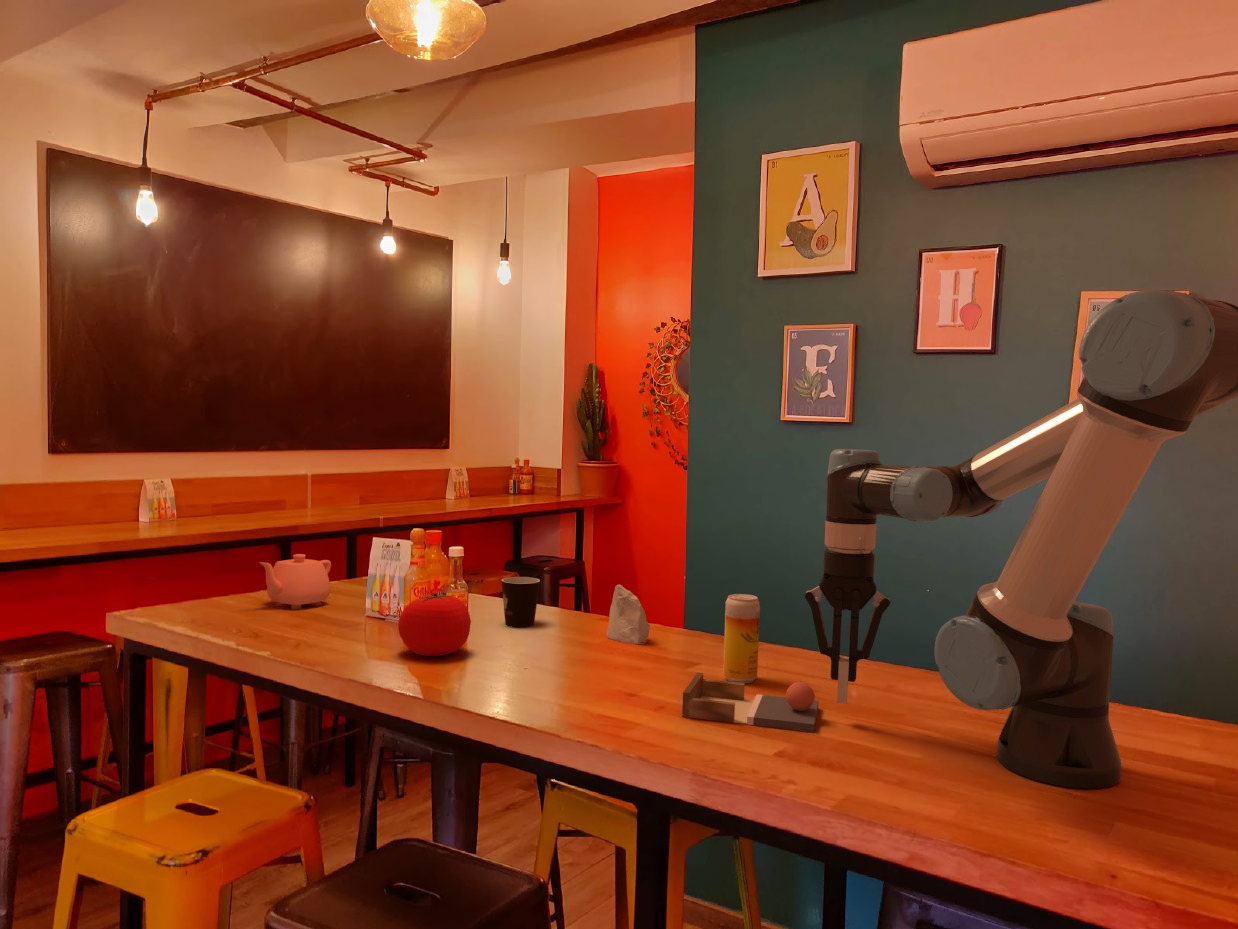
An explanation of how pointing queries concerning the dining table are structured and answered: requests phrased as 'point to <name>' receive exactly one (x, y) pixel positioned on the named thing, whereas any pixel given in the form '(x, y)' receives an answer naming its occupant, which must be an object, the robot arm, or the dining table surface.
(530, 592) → the coffee mug
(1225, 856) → the dining table surface
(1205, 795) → the dining table surface
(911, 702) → the dining table surface
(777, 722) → the lane mat
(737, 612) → the beer can
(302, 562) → the teapot
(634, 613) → the stone
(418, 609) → the tomato
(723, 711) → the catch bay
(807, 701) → the ball
